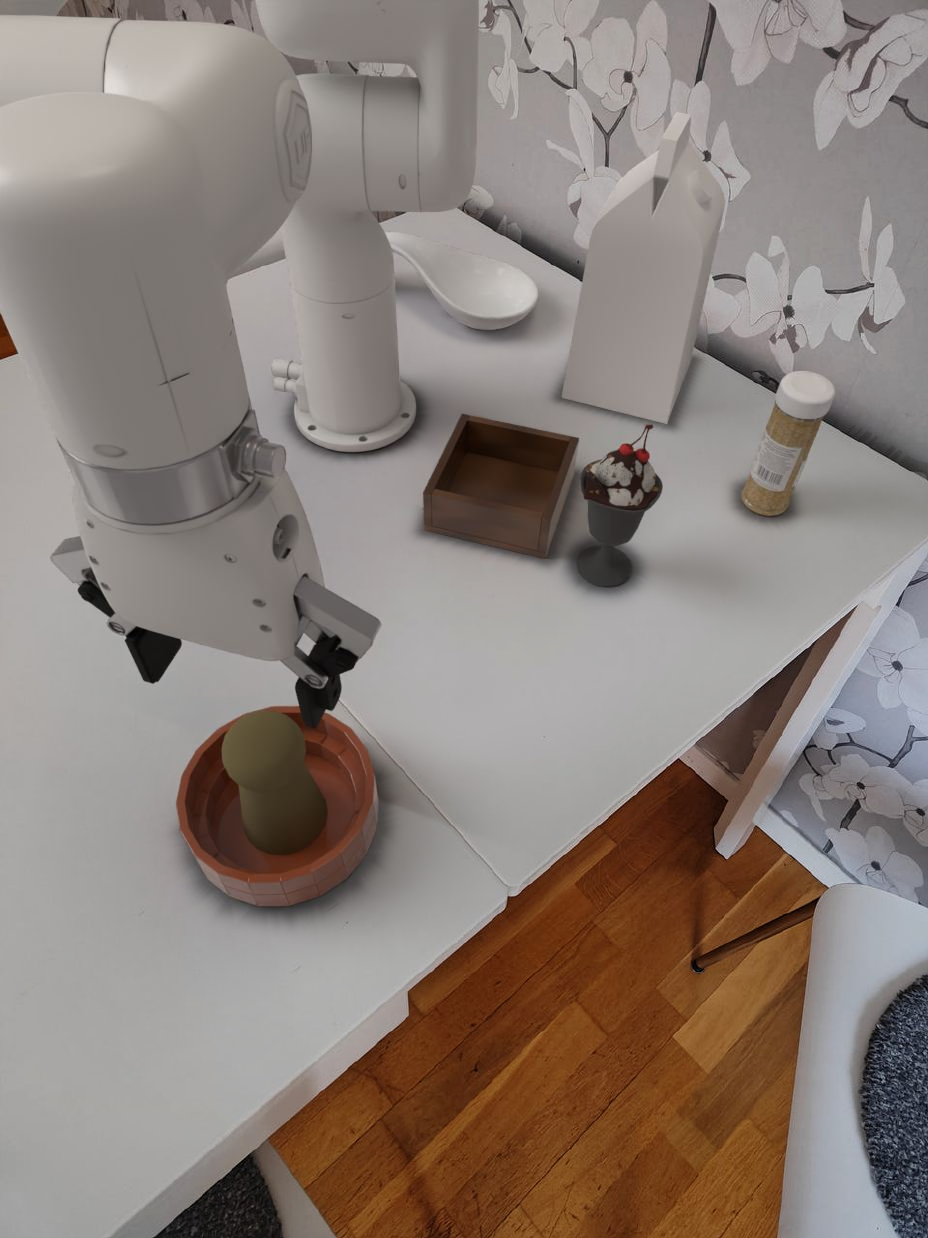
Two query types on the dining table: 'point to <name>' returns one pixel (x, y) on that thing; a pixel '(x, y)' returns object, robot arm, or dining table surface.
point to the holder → (500, 485)
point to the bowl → (295, 877)
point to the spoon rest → (469, 282)
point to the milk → (646, 282)
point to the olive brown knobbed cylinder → (274, 783)
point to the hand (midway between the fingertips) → (241, 684)
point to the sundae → (616, 509)
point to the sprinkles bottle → (787, 441)
